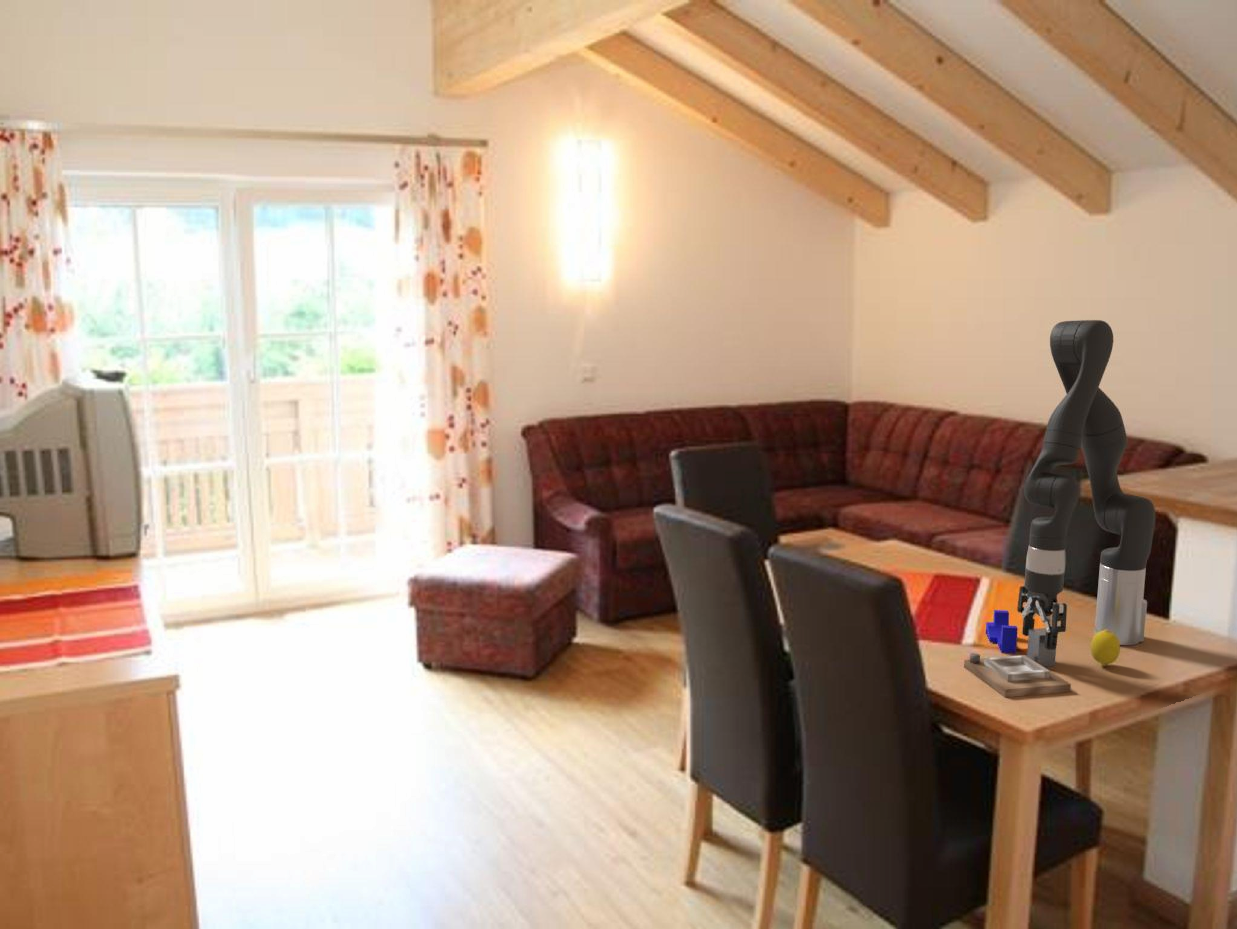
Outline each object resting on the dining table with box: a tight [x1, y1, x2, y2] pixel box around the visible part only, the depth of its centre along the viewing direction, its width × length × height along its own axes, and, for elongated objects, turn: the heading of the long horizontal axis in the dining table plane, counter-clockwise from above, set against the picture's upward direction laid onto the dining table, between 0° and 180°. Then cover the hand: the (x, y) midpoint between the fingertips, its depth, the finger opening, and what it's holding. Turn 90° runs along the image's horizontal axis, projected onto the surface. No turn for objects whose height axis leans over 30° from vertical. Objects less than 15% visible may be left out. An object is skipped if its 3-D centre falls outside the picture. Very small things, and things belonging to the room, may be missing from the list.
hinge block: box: [1026, 627, 1057, 668], centre depth 216 cm, size 4×4×7 cm
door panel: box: [963, 652, 1072, 698], centre depth 208 cm, size 14×16×3 cm
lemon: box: [1090, 629, 1121, 667], centre depth 214 cm, size 6×6×8 cm
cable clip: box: [985, 609, 1018, 654], centre depth 228 cm, size 12×4×6 cm, turn 169°
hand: (1038, 641), depth 216 cm, fingers open, 8 cm apart
